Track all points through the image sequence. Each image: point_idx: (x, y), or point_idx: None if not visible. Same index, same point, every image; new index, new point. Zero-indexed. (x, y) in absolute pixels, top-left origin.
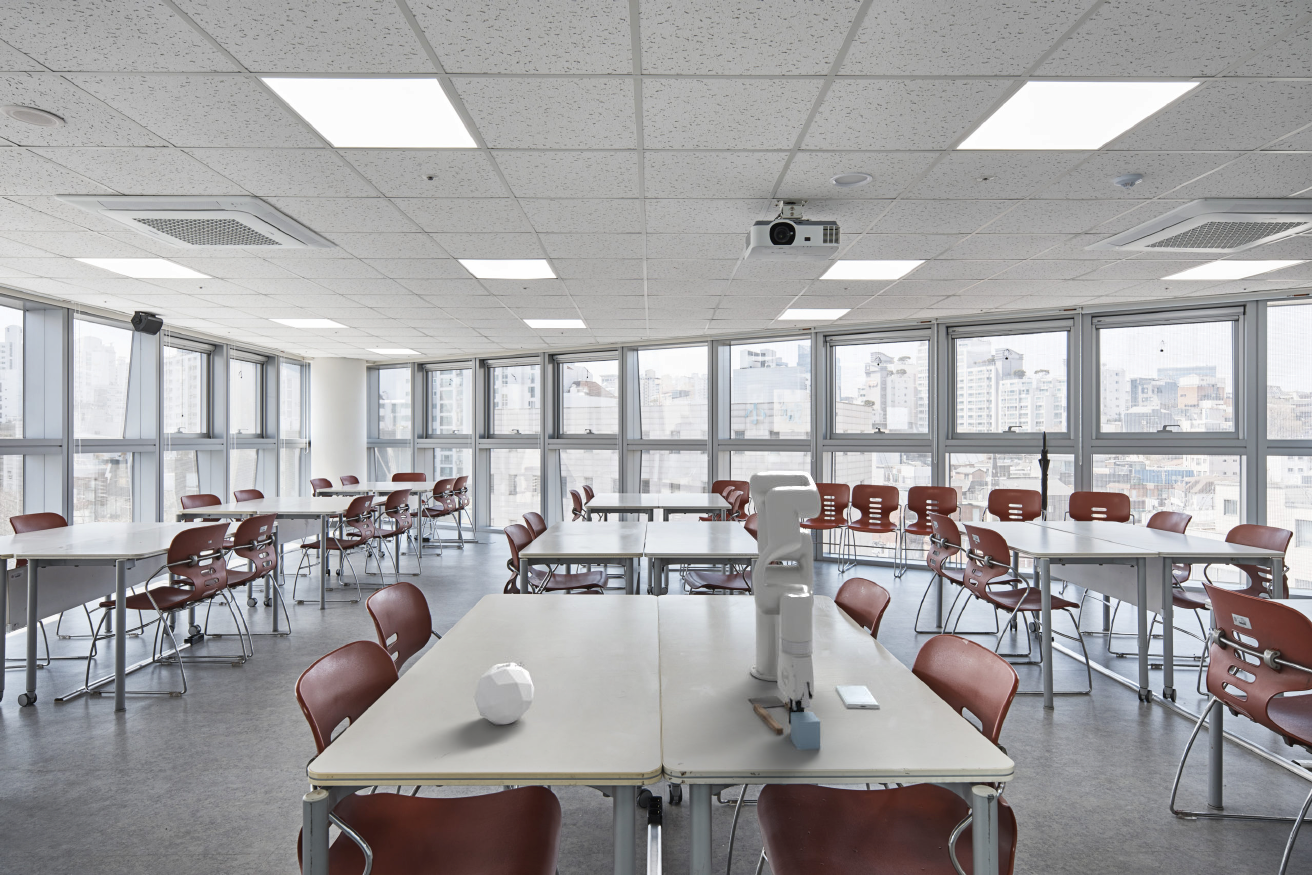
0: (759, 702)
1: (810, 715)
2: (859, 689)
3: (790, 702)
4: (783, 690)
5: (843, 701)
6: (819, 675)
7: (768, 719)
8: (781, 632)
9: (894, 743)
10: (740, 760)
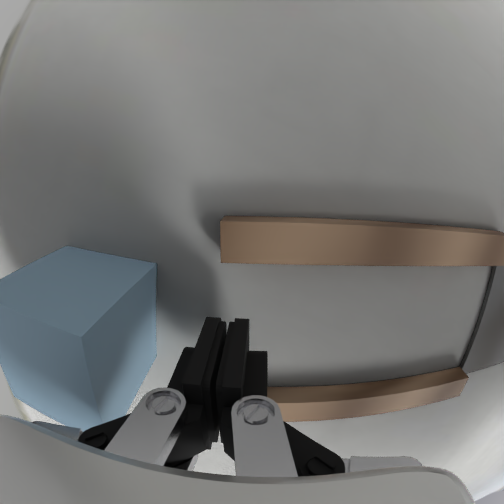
0: None
1: (59, 408)
2: None
3: (233, 425)
4: (235, 501)
5: None
6: (490, 456)
7: (361, 228)
8: None
9: None
10: (64, 3)
